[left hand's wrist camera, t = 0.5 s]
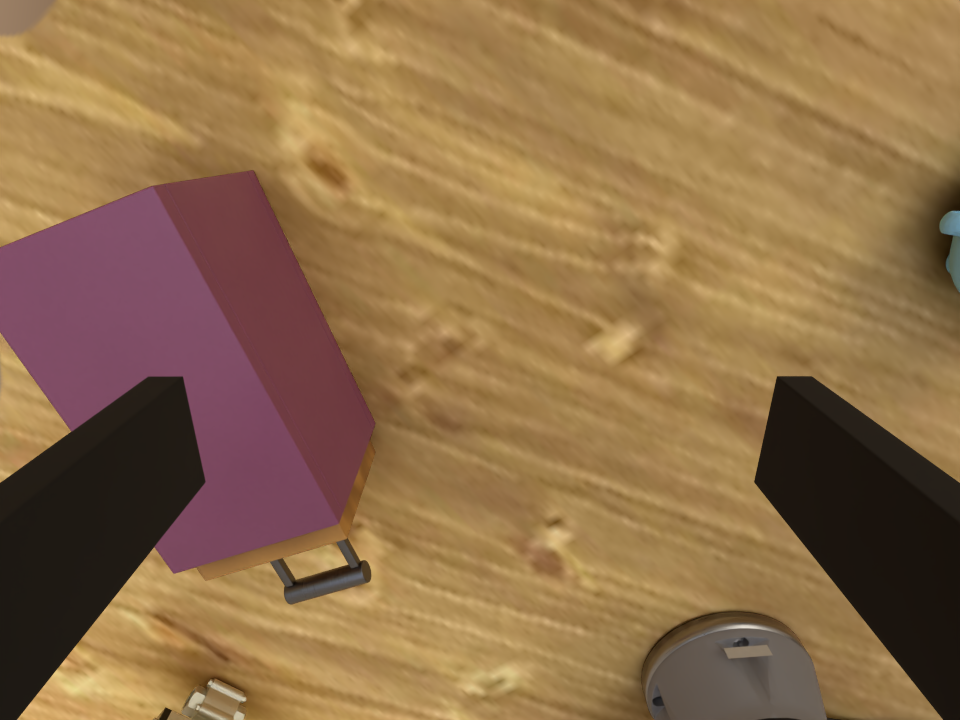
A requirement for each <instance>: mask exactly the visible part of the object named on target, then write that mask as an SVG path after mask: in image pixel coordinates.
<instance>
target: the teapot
mask: <svg viewBox="0 0 960 720" xmlns="http://www.w3.org/2000/svg"><path fill="white" fill-rule="evenodd" d="M939 228H940V231H941V233H944V234H948V235H954V236H953V240H952V244H951V248H950V254H949V255H948V257H947V260H946V269H947V271H948V272H949V273H950V274H951V277H952V280H953V282H954V285H955V286H956V288H957V290H958V291H959V293H960V211H950V212H948V213H947V214H945V215H944V217H943V218H942V219H941V221H940V225H939Z"/></svg>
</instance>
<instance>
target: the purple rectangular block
mask: <svg viewBox="0 0 960 720" xmlns="http://www.w3.org/2000/svg"><path fill="white" fill-rule="evenodd" d="M0 333H1V334H2V335H3V337H4V338H5V340H6V341H7V342H8V344H9V345H10V347H11V348H12V349H13V351H14V352H15V354H16V355H17V356H18V358H19V359H20V361H21V362H22V363H23V365H24V366H25V367H26V369H27V370H28V372H29V373H30V374H31V376H32V377H33V379H34V380H35V381H36V383H37V384H38V386H39V387H40V388H41V390H42V391H43V393H44V394H45V395H46V397H47V398H48V400H49V401H50V402H51V404H52V405H53V406H54V408H55V409H56V411H57V412H58V413H59V415H60V416H61V418H62V419H63V420H64V422H65V423H66V425H67V426H68V427H69V429H70V430H71V432H72V431H73V430H75V429H76V428H77V427H79V426H80V425H82V424H83V423H84V422H86V421H87V420H88V419H90V418H91V417H93V416H94V415H95V414H97V413H98V412H100V411H101V410H102V409H104V408H105V407H107V406H108V405H109V404H111V403H112V402H113V401H115V400H116V399H118V398H119V397H120V396H122V395H123V394H125V393H126V392H127V391H129V390H130V389H132V388H133V387H134V386H136V385H137V384H138V383H140V382H141V381H143V380H144V379H145V378H147V377H148V376H183V379H184V384H185V388H186V393H187V398H188V402H189V407H190V411H191V416H192V421H193V425H194V430H195V435H196V439H197V444H198V449H199V453H200V458H201V462H202V467H203V472H204V476H205V481H206V482H205V484H204V485H203V486H202V488H201V489H200V490H199V491H198V493H197V494H196V495H195V496H194V498H193V499H192V500H191V501H190V503H189V504H188V505H187V506H186V508H185V509H184V510H183V511H182V513H181V514H180V515H179V516H178V518H177V519H176V520H175V521H174V523H173V524H172V525H171V526H170V528H169V529H168V530H167V532H166V533H165V534H164V535H163V537H162V538H161V539H160V540H159V542H158V543H157V544H156V545H155V548H156V550H157V551H158V553H159V554H160V555H161V557H162V558H163V560H164V561H165V562H166V564H167V565H168V567H169V568H170V569H171V571H172V572H173V573H174V574H175V573H178V572H181V571H185V570H188V569H191V568H195V567H198V566H201V565H205V564H208V563H211V562H215V561H218V560H221V559H224V558H228V557H231V556H234V555H238V554H241V553H244V552H248V551H251V550H254V549H258V548H261V547H264V546H268V545H271V544H274V543H277V542H281V541H284V540H287V539H291V538H294V537H297V536H301V535H304V534H307V533H311V532H314V531H317V530H321V529H324V528H327V527H330V526H334V525H337V524H339V523H340V520H341V517H342V514H343V512H344V509H345V506H346V504H347V501H348V498H349V495H350V493H351V490H352V487H353V484H354V482H355V479H356V476H357V473H358V471H359V468H360V465H361V462H362V460H363V457H364V454H365V451H366V449H367V446H368V443H369V440H370V438H371V435H372V432H373V429H374V427H375V422H374V419H373V417H372V415H371V413H370V411H369V409H368V407H367V405H366V403H365V401H364V399H363V397H362V395H361V393H360V390H359V388H358V386H357V384H356V382H355V380H354V378H353V376H352V374H351V372H350V370H349V368H348V366H347V364H346V361H345V359H344V357H343V355H342V353H341V351H340V349H339V347H338V345H337V343H336V341H335V339H334V337H333V335H332V332H331V330H330V328H329V326H328V324H327V322H326V320H325V318H324V316H323V314H322V312H321V310H320V308H319V306H318V303H317V301H316V299H315V297H314V295H313V293H312V291H311V289H310V287H309V285H308V283H307V281H306V279H305V277H304V275H303V272H302V270H301V268H300V266H299V264H298V262H297V260H296V258H295V256H294V254H293V252H292V250H291V248H290V246H289V243H288V241H287V239H286V237H285V235H284V233H283V231H282V229H281V227H280V225H279V223H278V221H277V219H276V217H275V214H274V212H273V210H272V208H271V206H270V204H269V202H268V200H267V198H266V196H265V194H264V192H263V190H262V188H261V185H260V183H259V181H258V179H257V177H256V175H255V173H254V171H253V170H252V171H246V172H239V173H233V174H226V175H220V176H213V177H207V178H200V179H194V180H187V181H181V182H174V183H168V184H163V185H155V186H151V187H148V188H146V189H143V190H141V191H138V192H136V193H133V194H131V195H128V196H126V197H123V198H121V199H118V200H116V201H113V202H111V203H108V204H106V205H104V206H101V207H99V208H96V209H94V210H91V211H89V212H86V213H84V214H81V215H79V216H76V217H74V218H71V219H69V220H66V221H64V222H62V223H59V224H57V225H54V226H52V227H49V228H47V229H44V230H42V231H39V232H37V233H34V234H32V235H29V236H27V237H24V238H22V239H20V240H17V241H15V242H12V243H10V244H7V245H5V246H2V247H0Z"/></svg>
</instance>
